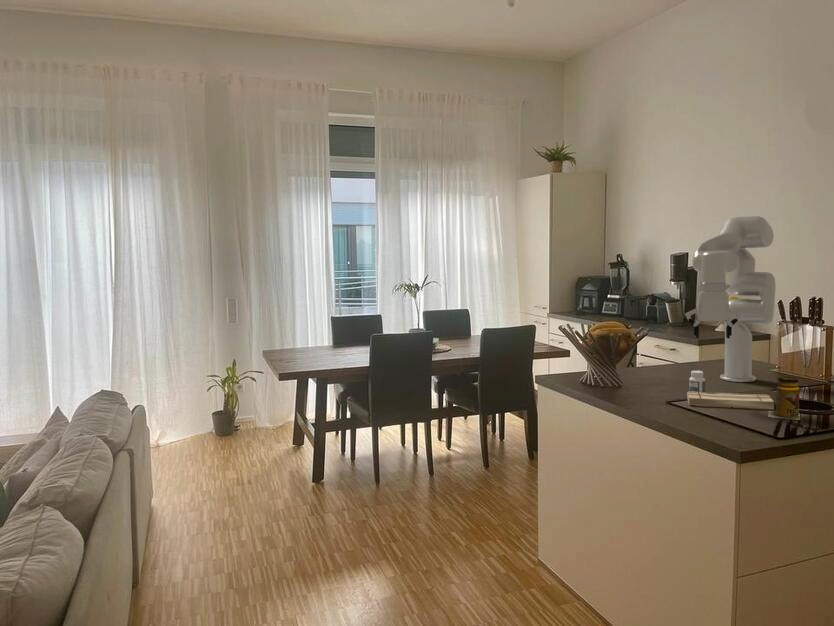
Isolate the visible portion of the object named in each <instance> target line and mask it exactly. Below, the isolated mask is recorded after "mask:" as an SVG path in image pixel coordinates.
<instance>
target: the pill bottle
mask: <svg viewBox="0 0 834 626" xmlns="http://www.w3.org/2000/svg"><path fill="white" fill-rule="evenodd" d="M688 383H689V386H688V387H689V388H688V389H689V390H688V392H707V391H706V387H707V386H706V383H707V382H706V378H705V377H704V371H702V370H691V371H690V377H689V381H688Z"/></svg>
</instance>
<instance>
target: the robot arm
mask: <svg viewBox="0 0 834 626" xmlns="http://www.w3.org/2000/svg"><path fill="white" fill-rule="evenodd" d="M773 241H774V231H773V228H772V226H771V224H770V223H769V222H768V220H766V218H765V217H762V216H760V215H759V216H757V215H755V216H753V215H751V216H736V217H732V218H729V219H727V220H726V221H725V223H724V224H723V226H722V228H721V230H720V232H719V233H718V235H717V236H714V237H712V238H709V239H707V240H706V241H704V242H702V243H701V244H699V246H698V247H697V248H696V251H695V252H694V254H693V258H692V267H693V269H694V271H696V272H698V273H700V291H698V293H697V297H696V298H697V299H696V306H695V307H696V308H694V309H691V310H690V311H688V312H685V314H684V315H685V317H686V319H687V321H688V322H689V324H691V325H692V326H693V336H695V338H696V339H699V337H700V336H699V335H700V328H699V324H700V323H701V322H723V323H724V373H722V374H720V375H719V378H720V379H721V380H723V381H728V382H734V383H737V382H738V383H750V382H755V381H756V380H757V376H755V375H753V374H752V370H753V369H752V366H753V361H752V360H753V357H752V356H753V334H752V332H751V331H750V329H749V327H747V325H769V324H771V323H772V322H773V319H774V316H775V315H774V312H775V301H776V300H775V299H776V287H777V286H776V285H777V283H776V278H775V276H774V274H773V273H771V272H766V271H755V269H756V259H755V257H754V255H753V254H752V253H751V252H750V251H749V250H748V249H752V248H753V249H756V248H767V247H770V246H771V245H773V244H772V243H773ZM727 273H729V282H728V283H729V284H727V283H726V274H727ZM727 289H729V292H730V295H733V296H735V297H758V298H760V299H752V298H751V299H749V298H746V299H745V298H734V299H729V295H728V291H726V290H727ZM692 315H695V317H696V319H695V320H693V319H692V317H691V316H692Z"/></svg>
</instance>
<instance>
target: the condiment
mask: <svg viewBox="0 0 834 626" xmlns="http://www.w3.org/2000/svg"><path fill="white" fill-rule="evenodd" d="M777 379H778V382H777V386H776V400H775V404H776V405H775V411H773V410H768V413H767V414H768V415H767V417H768V418H776V419H785V420H795V421H800V420H801V415H800V410H799V409H800V387H799V379H798V378H796V377H792V376H780V377H778V378H777Z"/></svg>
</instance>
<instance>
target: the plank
mask: <svg viewBox="0 0 834 626" xmlns="http://www.w3.org/2000/svg"><path fill="white" fill-rule="evenodd" d="M686 394H687V395H686V396H687V397H686V398H687V399H686V400H687V403H688V406H689V405H694V406H695V405H696V406H695V407H710V408H711V407H712V408H713V407H714V408H731V407H733V408H735V409H736V408H737V409H753V410H755V409H756V410H772V411H773V410H775V401H774V400H773V398H772V397H771V395H769V394H757V393H756V394H755V393H753V394H752V393H751V394H750V393H733V392H732V393H729V392H728V393H727V392H707V391H706V392H689V391H687V393H686ZM694 406H693V407H694Z"/></svg>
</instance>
